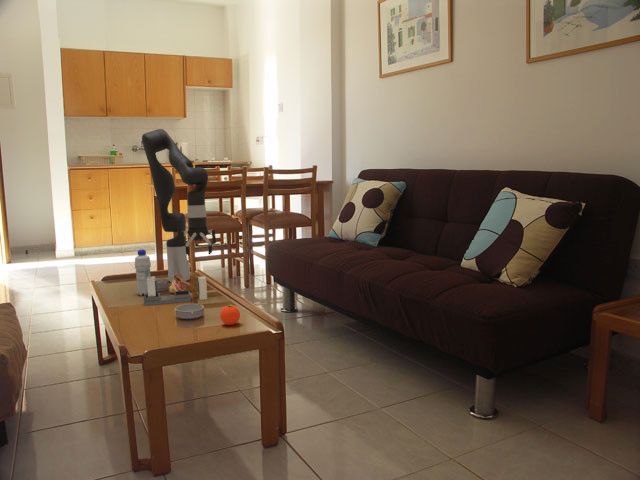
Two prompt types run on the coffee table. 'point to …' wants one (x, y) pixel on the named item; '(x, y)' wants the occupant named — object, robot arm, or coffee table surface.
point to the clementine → (230, 315)
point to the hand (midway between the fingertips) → (199, 254)
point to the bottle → (142, 271)
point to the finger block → (202, 287)
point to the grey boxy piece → (155, 297)
